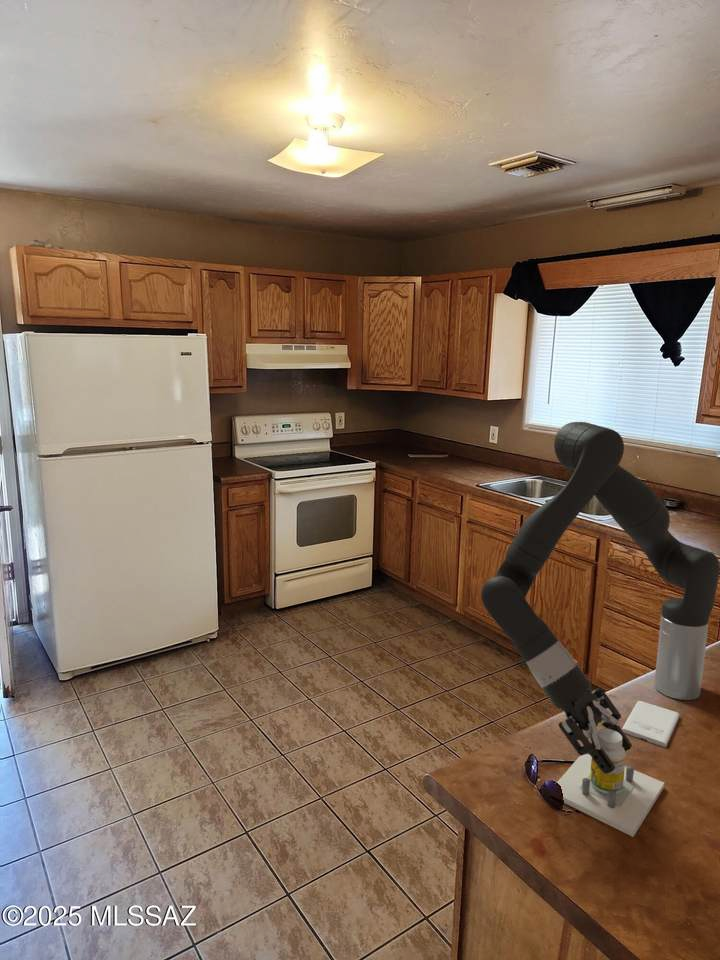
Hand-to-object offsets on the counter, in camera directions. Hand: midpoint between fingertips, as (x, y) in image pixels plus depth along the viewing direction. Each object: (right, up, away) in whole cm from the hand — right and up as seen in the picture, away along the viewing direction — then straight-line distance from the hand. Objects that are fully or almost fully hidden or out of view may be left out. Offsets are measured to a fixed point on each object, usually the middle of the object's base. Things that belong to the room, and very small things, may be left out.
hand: (619, 759), depth 106 cm
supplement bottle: (-1, -6, +2) cm, 6 cm away
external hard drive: (+15, -3, +22) cm, 27 cm away
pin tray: (-1, -7, +2) cm, 7 cm away
